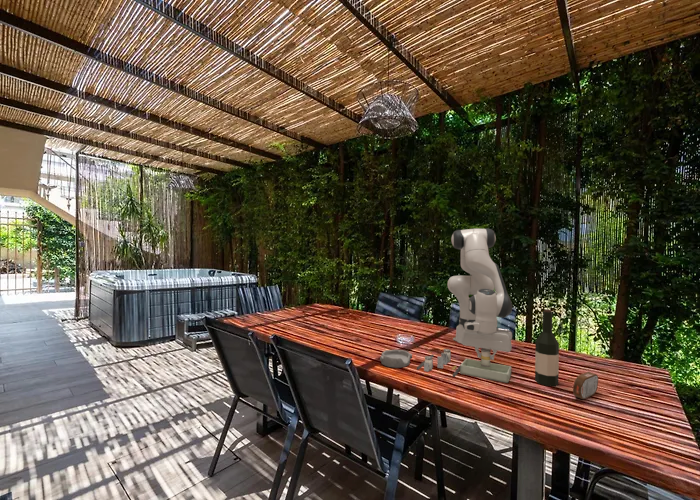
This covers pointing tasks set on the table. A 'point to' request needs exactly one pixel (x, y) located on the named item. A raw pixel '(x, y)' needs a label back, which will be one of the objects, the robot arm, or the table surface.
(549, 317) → the wine bottle
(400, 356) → the dish
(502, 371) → the tray
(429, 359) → the fuse cartridge near camera
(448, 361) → the fuse cartridge near arm
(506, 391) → the table surface
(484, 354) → the cylinder
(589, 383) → the tin
